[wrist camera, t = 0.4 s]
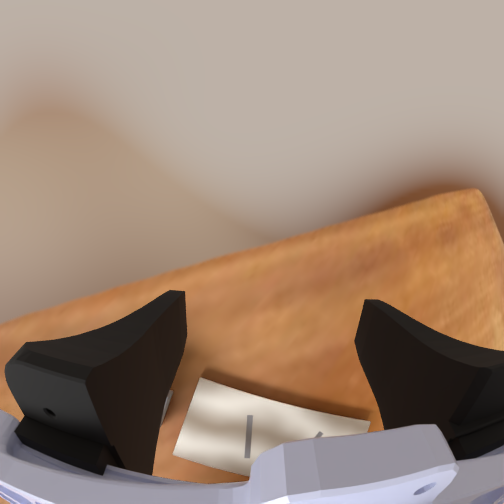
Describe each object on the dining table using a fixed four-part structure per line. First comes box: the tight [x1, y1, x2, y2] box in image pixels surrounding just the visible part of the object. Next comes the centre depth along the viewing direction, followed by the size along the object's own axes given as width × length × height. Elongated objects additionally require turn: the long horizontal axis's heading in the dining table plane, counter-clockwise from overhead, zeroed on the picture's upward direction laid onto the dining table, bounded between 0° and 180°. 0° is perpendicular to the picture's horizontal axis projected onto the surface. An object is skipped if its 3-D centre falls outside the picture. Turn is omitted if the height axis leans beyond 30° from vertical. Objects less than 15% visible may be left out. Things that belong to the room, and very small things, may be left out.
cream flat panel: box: [173, 377, 370, 477], centre depth 33 cm, size 11×24×1 cm, turn 71°
